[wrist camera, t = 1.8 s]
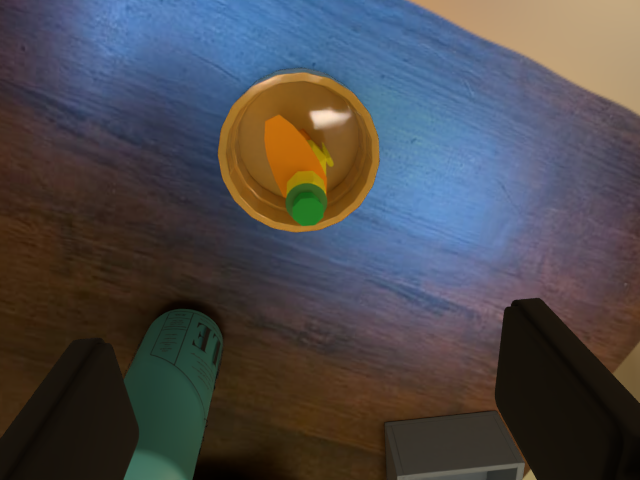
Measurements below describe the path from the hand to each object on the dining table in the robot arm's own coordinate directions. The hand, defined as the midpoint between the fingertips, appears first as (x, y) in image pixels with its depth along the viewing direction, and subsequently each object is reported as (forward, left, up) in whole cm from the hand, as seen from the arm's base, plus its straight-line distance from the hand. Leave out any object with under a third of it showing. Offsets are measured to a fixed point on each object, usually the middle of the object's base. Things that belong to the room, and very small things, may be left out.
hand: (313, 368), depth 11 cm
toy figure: (0, 0, -24) cm, 24 cm away
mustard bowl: (0, 0, -24) cm, 24 cm away
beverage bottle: (+11, +15, -24) cm, 30 cm away
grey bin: (-11, +34, -24) cm, 43 cm away
